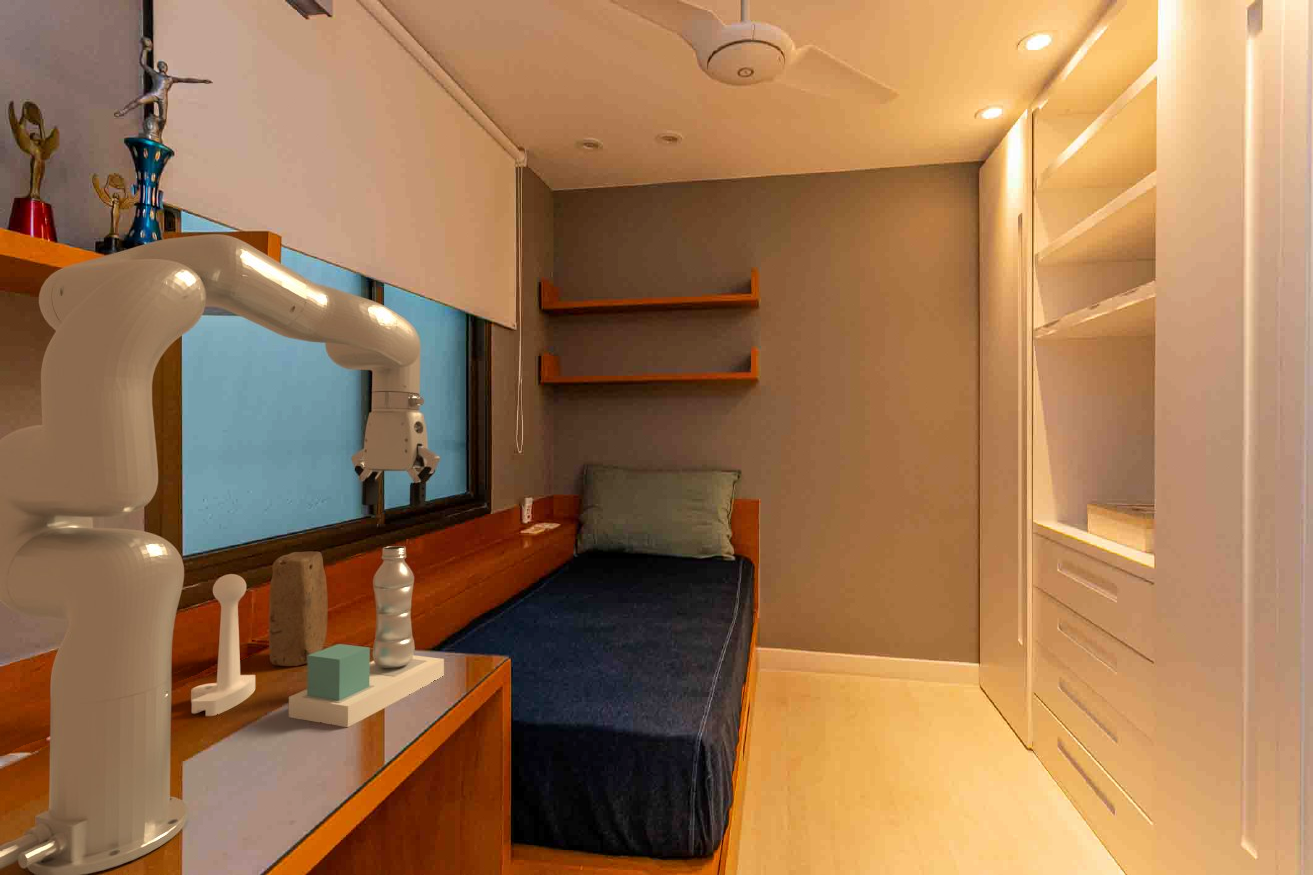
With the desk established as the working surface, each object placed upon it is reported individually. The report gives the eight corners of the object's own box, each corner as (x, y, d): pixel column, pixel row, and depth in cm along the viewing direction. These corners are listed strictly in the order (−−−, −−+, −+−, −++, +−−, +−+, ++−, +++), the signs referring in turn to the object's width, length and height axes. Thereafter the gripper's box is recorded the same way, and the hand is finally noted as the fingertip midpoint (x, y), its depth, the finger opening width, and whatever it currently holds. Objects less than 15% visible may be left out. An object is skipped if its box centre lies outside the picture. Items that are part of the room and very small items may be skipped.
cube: (339, 700, 95) (339, 659, 95) (307, 695, 97) (307, 655, 97) (369, 686, 101) (369, 647, 101) (338, 682, 103) (338, 643, 103)
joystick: (221, 715, 97) (223, 581, 98) (168, 716, 97) (170, 581, 97) (262, 688, 109) (263, 567, 109) (215, 688, 108) (216, 568, 108)
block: (306, 668, 118) (307, 557, 118) (263, 669, 118) (264, 558, 118) (332, 649, 129) (333, 548, 129) (293, 650, 129) (294, 548, 129)
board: (347, 727, 93) (348, 705, 93) (288, 717, 97) (288, 696, 97) (443, 676, 114) (443, 658, 114) (392, 669, 118) (392, 651, 118)
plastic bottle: (422, 663, 111) (423, 546, 112) (387, 675, 106) (388, 552, 106) (398, 657, 115) (399, 543, 115) (363, 668, 109) (364, 548, 109)
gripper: (452, 405, 112) (450, 505, 111) (370, 407, 117) (368, 503, 117) (424, 401, 105) (421, 508, 104) (338, 403, 110) (335, 505, 109)
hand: (393, 505), depth 110 cm, fingers open, 9 cm apart
